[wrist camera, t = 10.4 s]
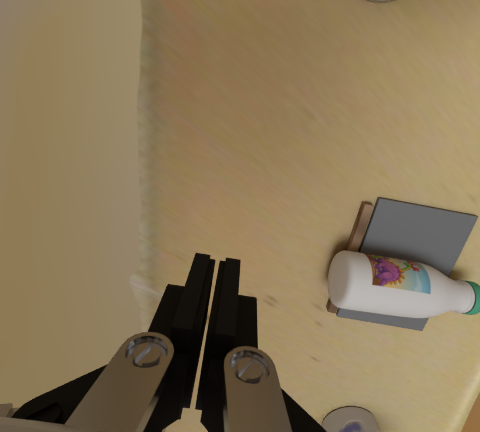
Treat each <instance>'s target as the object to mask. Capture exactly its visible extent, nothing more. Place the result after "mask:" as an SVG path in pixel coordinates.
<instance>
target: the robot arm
mask: <svg viewBox="0 0 480 432" xmlns="http://www.w3.org/2000/svg"><path fill="white" fill-rule="evenodd" d="M368 1H371V2H389V1H395V0H368ZM214 266H215V260H214V259H210V255H207V254H200V253H196V254H195V257H194V260H193V263H192V266H191V269H190V272H189V275H188V278H187V281H186V284H185V287H184V286H178V285H171V284H168V285H167V287H166V289H165V292H164V294H163V297H162V299H161V301H160V304H159V306H158V309H157V311H156V313H155V316H154V318H153V320H152V323H151V325H150V328H149V330H148V332H142V333H139V334H135V335H133V336H132V337H130V338H128V339H127V340H126V341H125V342H124V343H123V344H122V345H121V347H120V348H119V349H118V351H117V352H116V354H115V355H114V357H113V358H112V359H111V361H110V362H109V363H108V364H107V365H105V366H103V367H101V368H99V369H96V370H94V371H92V372H90V373H88V374H86V375H83V376H81V377H79V378H77V379H75V380H73V381H70V382H68V383H66V384H64V385H62V386H60V387H57V388H56V389H53V390H51V391H49V392H47V393H44V394H42V395H40V396H38V397H36V398H34V399H32V400H30V401H29V402H27V403H25V404H24V405H23V406H21V407H20V408H13V405H12V403H9V404H0V432H165V430H166V427H167V426H169V425H170V424H172V423H173V422H175V421H176V420H178V419H181V414H182V409H183V408H190V404H191V398H192V393H193V388H194V383H195V378H196V372H197V367H198V362H199V357H200V351H201V346H202V341H203V336H204V331H205V325H206V319H207V313H208V306H209V299H210V293H211V286H212V279H213V273H214ZM239 275H240V260H238V259H232V258H226V261H220V263H219V269H218V274H217V280H216V285H215V291H214V296H213V302H212V307H211V313H210V318H209V324H208V330H207V336H206V342H205V349H204V355H203V362H202V368H201V375H200V381H199V388H198V394H197V401H196V407H195V409H197V410H202V415H201V421H200V422H201V423H202V424H203V425H204V427H205V428H206V429H207V431H208V432H327V431H326V430H325V429H324V428H323V427H322V426H321V425H320V424H318V423H317V422H316V421H315V420H314V419H313V418H312V417H311V416H310V415H309V414H308V413H307V412H306V411H305V410H304V409H303V408H302V407H300V406H299V405H298V404H297V403H296V402H295V401H294V400H293V399H292V398H291V397H290V396H289V395H288V394H287V393H286V392H285V391H284V390H282V389H281V387H280V383H279V379H278V375H277V372H276V368H275V365H274V363H273V361H272V359H271V358H270V357H269V356H268V355H267V354H266V353H265V352H263V351H262V350H259V349H258V337H257V299H256V297H249V296H243V295H238V291H239Z"/></svg>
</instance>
